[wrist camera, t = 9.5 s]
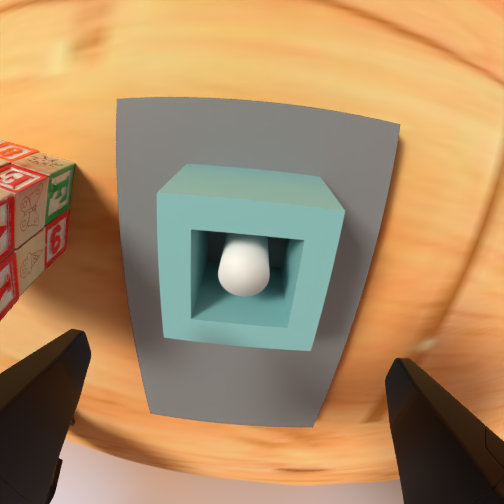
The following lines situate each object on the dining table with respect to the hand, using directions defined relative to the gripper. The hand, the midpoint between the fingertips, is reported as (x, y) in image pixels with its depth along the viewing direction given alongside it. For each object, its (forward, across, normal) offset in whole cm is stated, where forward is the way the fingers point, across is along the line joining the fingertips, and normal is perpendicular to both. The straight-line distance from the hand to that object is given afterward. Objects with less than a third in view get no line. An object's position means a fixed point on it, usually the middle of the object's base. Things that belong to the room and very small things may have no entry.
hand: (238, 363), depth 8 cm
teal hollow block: (+9, 0, 0) cm, 9 cm away
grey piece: (+11, 0, +6) cm, 12 cm away
